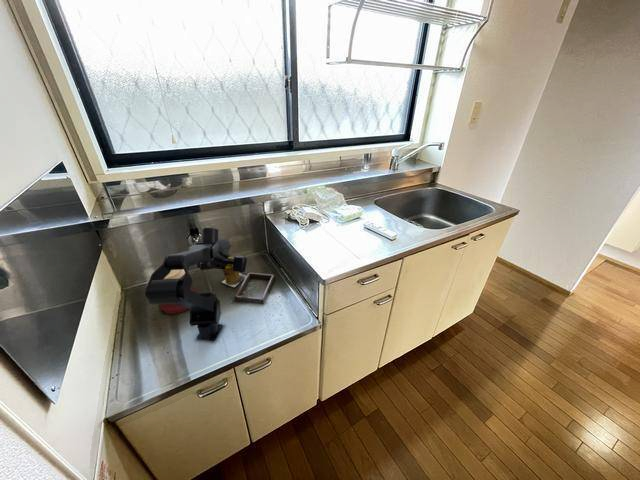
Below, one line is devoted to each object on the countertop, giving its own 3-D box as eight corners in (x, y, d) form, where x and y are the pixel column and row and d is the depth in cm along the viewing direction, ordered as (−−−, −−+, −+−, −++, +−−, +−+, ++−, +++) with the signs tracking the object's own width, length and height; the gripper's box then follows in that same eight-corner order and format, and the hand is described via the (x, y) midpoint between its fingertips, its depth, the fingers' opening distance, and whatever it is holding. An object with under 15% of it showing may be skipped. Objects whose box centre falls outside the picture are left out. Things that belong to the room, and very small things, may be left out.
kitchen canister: (201, 304, 100) (190, 267, 91) (165, 320, 93) (149, 282, 84) (191, 286, 109) (180, 251, 100) (156, 300, 102) (141, 263, 93)
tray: (263, 303, 101) (262, 299, 100) (235, 300, 102) (234, 296, 101) (274, 278, 114) (274, 274, 113) (249, 276, 116) (248, 272, 114)
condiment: (221, 282, 112) (215, 259, 105) (235, 271, 118) (230, 249, 112) (234, 287, 109) (229, 264, 103) (247, 276, 115) (243, 254, 109)
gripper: (241, 239, 95) (255, 248, 110) (193, 235, 97) (213, 245, 112) (236, 269, 92) (251, 275, 107) (187, 265, 94) (208, 271, 109)
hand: (230, 265), depth 109 cm, fingers open, 9 cm apart
